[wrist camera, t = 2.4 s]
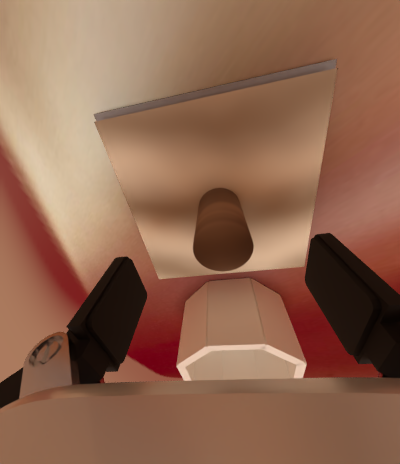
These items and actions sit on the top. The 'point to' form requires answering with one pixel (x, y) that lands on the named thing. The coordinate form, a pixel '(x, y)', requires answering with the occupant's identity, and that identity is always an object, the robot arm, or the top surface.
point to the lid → (225, 175)
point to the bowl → (238, 334)
